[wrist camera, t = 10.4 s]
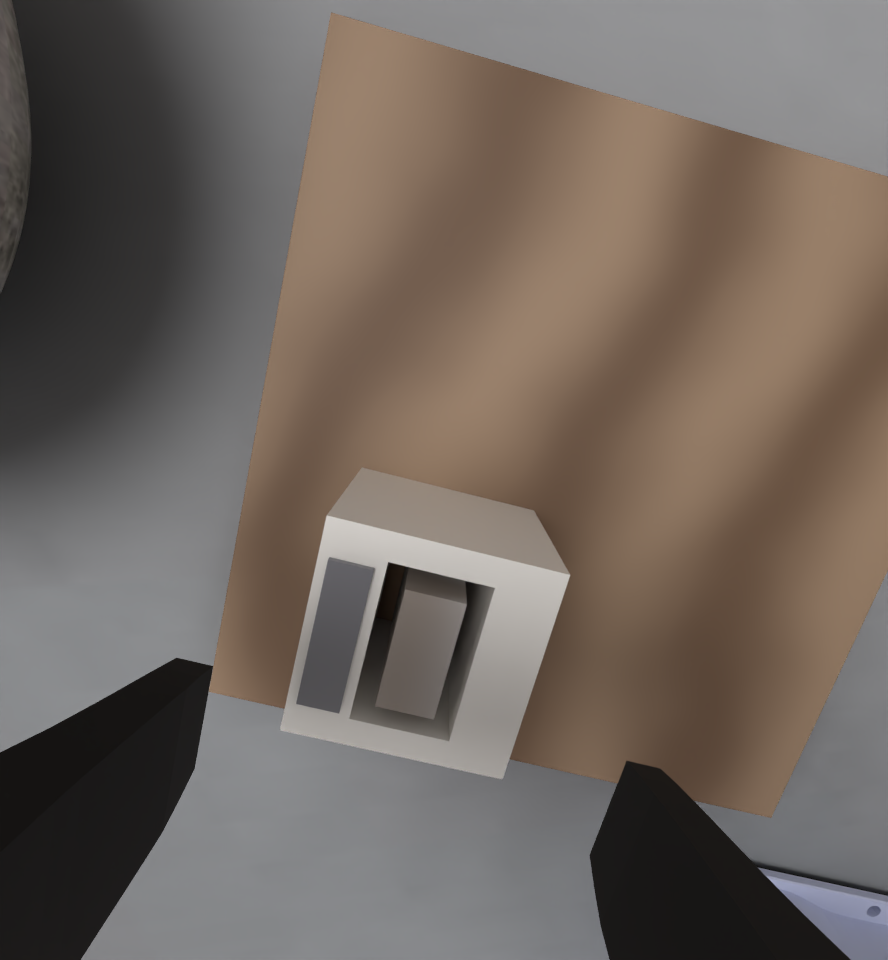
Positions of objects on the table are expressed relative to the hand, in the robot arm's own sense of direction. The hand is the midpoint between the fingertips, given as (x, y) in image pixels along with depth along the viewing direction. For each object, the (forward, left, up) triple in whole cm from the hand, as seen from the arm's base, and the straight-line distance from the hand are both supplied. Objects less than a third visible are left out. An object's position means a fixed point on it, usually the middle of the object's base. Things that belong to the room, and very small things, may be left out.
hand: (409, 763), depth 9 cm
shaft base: (-4, -4, -9) cm, 11 cm away
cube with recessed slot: (0, 0, -8) cm, 8 cm away
